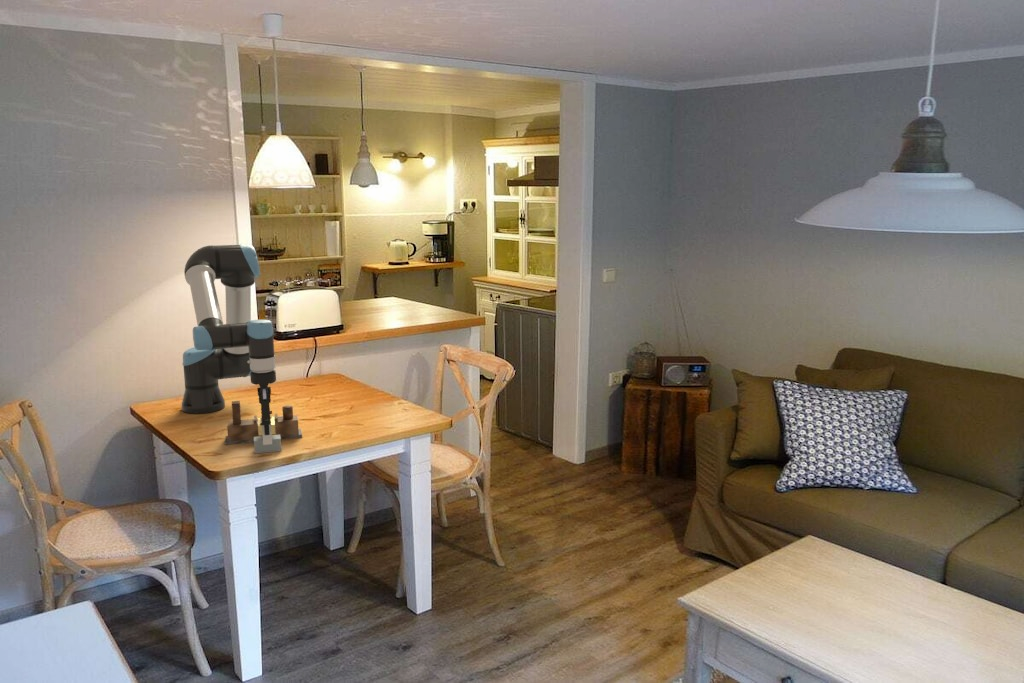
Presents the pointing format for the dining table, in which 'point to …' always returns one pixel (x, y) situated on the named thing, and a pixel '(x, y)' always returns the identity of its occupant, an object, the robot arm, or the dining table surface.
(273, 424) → the lever cap
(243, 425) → the plane body
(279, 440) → the block
